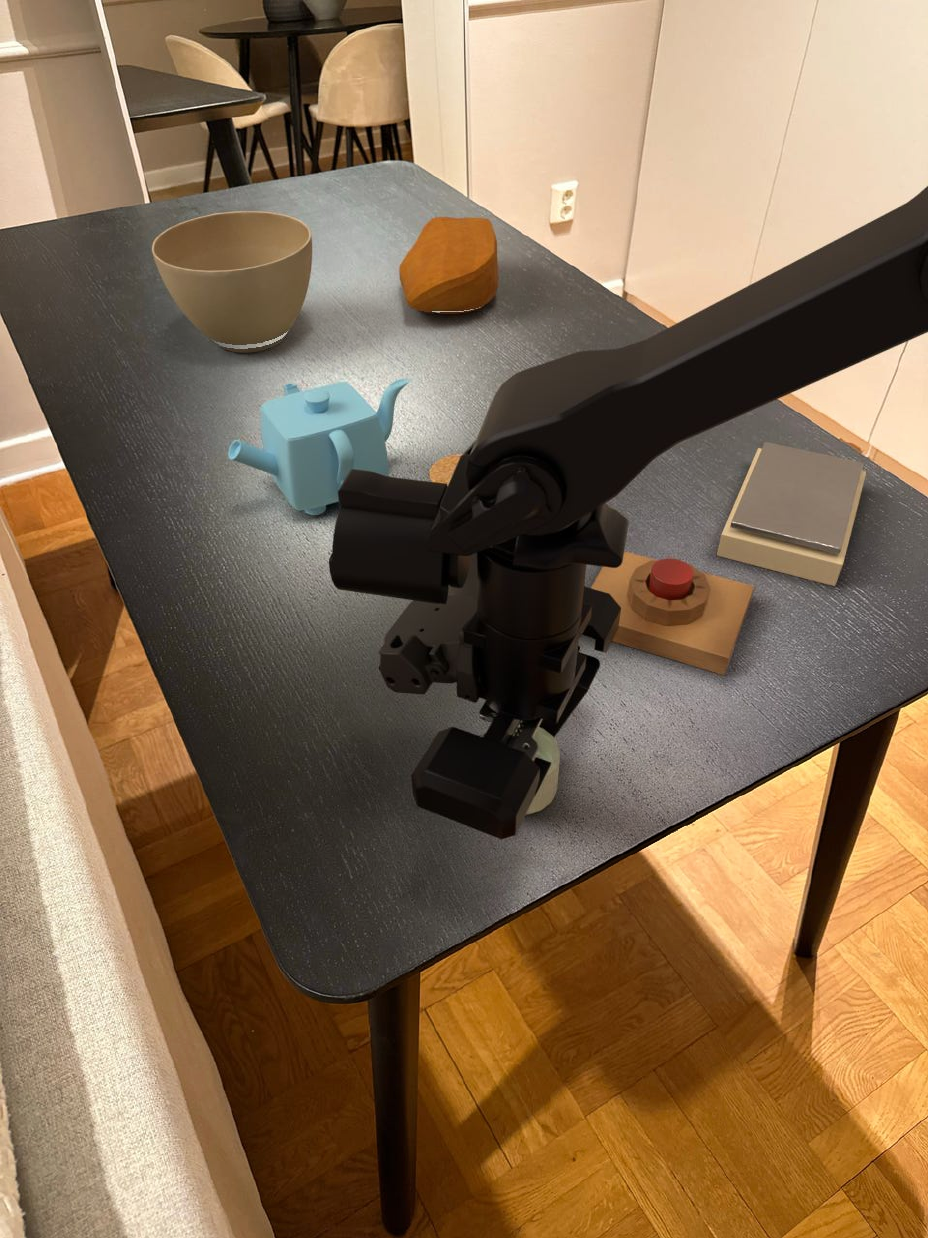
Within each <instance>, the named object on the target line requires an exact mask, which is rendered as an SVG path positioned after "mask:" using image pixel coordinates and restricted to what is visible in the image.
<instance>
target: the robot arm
mask: <svg viewBox="0 0 928 1238" xmlns="http://www.w3.org/2000/svg"><path fill="white" fill-rule="evenodd" d="M927 333H928V185H927V186H926V187H924V188H923V189H922V190H921V191H920V192H918V193H917V195H915V196H914V197H913V198H911V199H909V201H907V202H906V203H904V204H902V205H899V206H897V207H895V208H894V209H891V210H889V212H887V213H885V214H883V215H881V216H879V217H876V218H874V219H873V220H871V221H869V222H867V223H866V224H863V225H862V226H860V227H858V228H856V229H853V230H852V231H849V232H848V233H846V234H845V235H842V236H841V237H838V238H837V239H835V240H833V241H831V242H829V243H827V244H825V245H824V246H823V245H822V247H820V248H817V249H816V250H814V251H812V252H810V253H808V254H807V255H805V256H803V257H800V258H798V259H797V260H796V261H793V262H791V263H788V264H787V265H785V266H783V267H781V268H780V269H777V270H775V271H774V272H772V273H770V274H768V275H766V276H765V277H763V278H761V279H759V280H757V281H755V282H753V283H751V284H749V285H747V286H745V287H743V288H741V289H740V290H737V291H735V292H734V293H732V294H730V295H728V296H726V297H725V298H722V299H720V300H719V301H716V302H715V303H713V304H711V305H708V306H707V307H705V308H703V309H701V310H699V311H698V312H696V313H694V314H692V315H690V316H688V317H686V318H684V319H682V320H680V321H678V322H676V323H674V324H673V325H671V326H669V327H667V328H665V329H663V330H661V331H659V332H657V333H656V334H653V335H652V336H650V337H648V338H646V339H643V340H640V341H637V342H634V343H631V344H628V345H626V346H621V347H617V348H610V349H606V348H605V349H594V350H591V349H590V350H579V351H576V352H573V353H569V354H568V355H564V356H562V357H558V358H555V359H553V360H549V361H546V362H544V363H540V364H538V365H535V366H532V367H529V368H526V369H523V370H520V371H519V372H516V373H515V374H513V375H512V376H511V377H509V378H508V379H507V380H505V381H504V382H503V383H502V384H500V387H498V389H497V390H496V392H495V393H494V396H493V398H492V401H491V403H490V405H489V407H488V409H487V412H486V414H485V417H484V420H483V422H482V424H481V427H480V429H479V432H478V434H477V435H476V439H475V440H474V441H473V442H472V443H471V444H470V445H469V447H468V448H467V449H466V450H464V452H463V453H461V454H462V456H461V457H460V459H459V461H458V463H457V466H456V468H455V470H454V473H453V475H452V477H451V480H450V482H449V484H448V486H447V484H445V483H437V482H431V481H428V480H421V479H413V478H403V477H394V476H389V475H388V476H384V475H381V474H379V473H376V472H371V471H364V470H356V469H352V470H351V471H349V473H348V475H347V476H346V478H345V480H344V482H343V483H342V485H341V487H340V488H339V490H338V498H339V502H338V504H339V509H338V511H337V515H336V519H335V524H334V531H333V538H332V551H331V554H330V557H329V559H328V568H329V575H330V578H331V582H332V583H333V586H334V587H335V588H336V589H337V590H340V591H345V592H353V593H359V594H367V595H372V596H373V595H374V596H381V597H387V598H393V599H394V598H395V599H401V600H409V601H411V602H410V603H409V604H408V605H407V606H406V607H405V609H404V610H403V611H402V613H401V614H400V616H398V618H397V619H396V620H395V622H394V623H393V624H392V626H391V627H390V628H389V630H388V631H387V632H386V634H385V635H384V637H383V638H384V640H383V641H384V643H383V645H382V646H380V648H379V650H378V654H379V658H380V659H379V664H378V670H379V672H380V674H381V677H382V679H383V681H384V683H385V685H386V687H387V688H388V689H389V690H391V691H392V692H394V693H397V694H398V693H399V694H409V695H410V694H412V695H425V694H426V693H428V691H429V689H430V688H431V686H432V685H433V683H437V684H454V683H455V684H456V697H457V698H460V699H463V700H466V701H468V702H472V703H478V702H479V699H482V700H485V701H484V703H483V705H482V706H481V707H480V709H479V711H478V717H479V719H481V720H482V721H484V722H485V721H486V722H488V723H491V724H490V725H489V727H488V728H487V730H486V732H485V733H484V734H478V735H477V734H474V733H472V732H469V731H466V730H463V729H461V728H458V727H456V726H451V727H448V728H445V729H442V730H439V731H438V732H437V734H436V735H435V737H434V738H433V739H432V742H431V744H429V746H428V748H427V750H426V751H425V752H424V754H423V755H422V757H421V759H420V761H419V762H418V764H417V765H416V767H415V768H414V770H413V772H412V773H411V775H410V778H411V787H412V788H411V789H412V790H411V791H412V797H413V800H414V803H415V804H416V806H417V807H418V808H421V809H423V810H426V811H428V812H430V813H434V814H436V815H439V816H441V817H443V818H446V819H447V820H450V821H453V822H456V823H459V824H460V825H464V826H466V827H470V828H471V829H474V830H476V831H479V832H481V833H484V834H486V835H488V836H492V837H494V838H497V839H499V840H504V839H508V838H511V837H514V836H516V835H517V833H518V830H519V829H520V827H521V824H522V823H523V821H524V819H525V817H526V816H527V815H526V813H527V811H528V809H529V807H530V805H531V803H532V801H533V798H534V797H535V796H536V794H537V792H538V790H539V788H540V786H541V784H542V782H543V780H544V778H545V776H546V774H547V772H548V770H549V768H550V766H551V762H549V761H546V760H543V759H540V758H537V757H536V756H537V754H538V750H539V747H538V743H537V742H536V741H535V740H534V739H533V737H534V735H535V733H536V731H537V729H538V727H540V728H543V729H544V730H546V731H547V732H548V733H549V734H551V735H552V736H553V737H554V738H556V736H557V735H558V733H559V732H560V731H561V730H562V728H563V726H564V725H565V724H566V722H567V721H568V719H569V718H570V716H571V715H572V714H573V712H574V711H575V710H576V708H577V707H578V706H579V704H580V703H581V702H582V700H583V699H584V697H585V696H586V695H587V693H588V692H589V690H590V687H591V685H592V684H593V682H594V680H595V677H596V676H597V674H598V672H599V670H600V667H601V661H600V659H598V658H597V657H595V656H593V655H589V654H586V653H583V652H581V646H580V645H579V641H580V639H581V637H582V636H583V637H587V638H590V639H594V640H595V643H594V651H597V652H600V653H604V654H607V651H609V648H610V646H611V644H612V642H613V641H612V640H613V638H614V636H615V634H616V632H617V630H618V628H619V621H620V614H621V607H620V606H619V605H618V603H617V602H616V601H615V600H614V599H613V597H612V596H611V595H610V594H609V593H605V592H602V591H598V590H595V589H591V587H587V586H585V583H586V574H587V573H586V572H587V565H590V566H596V567H610V568H617V567H619V566H620V565H621V564H622V562H623V555H624V551H625V548H626V542H627V536H628V529H629V525H630V524H629V519H628V518H627V517H625V516H624V515H623V514H621V513H620V512H619V511H618V510H617V509H615V508H613V507H610V505H608V504H607V503H608V502H610V501H611V500H613V499H614V498H616V497H617V496H618V495H619V494H620V493H621V492H622V491H623V490H624V489H625V488H626V487H627V486H628V485H629V484H630V483H632V481H633V480H635V479H636V478H637V477H638V475H640V473H642V472H643V471H644V469H646V468H647V467H648V466H649V465H650V464H651V463H652V462H653V461H654V460H655V459H656V458H658V457H659V456H661V455H662V454H664V453H665V452H667V451H668V450H670V449H672V448H673V447H675V446H676V445H678V444H680V443H682V442H684V441H687V440H689V439H691V438H693V437H695V436H698V435H700V434H703V433H704V432H707V431H709V430H712V429H713V428H716V427H719V426H721V425H723V424H725V423H727V422H729V421H732V420H734V419H736V418H739V417H740V416H742V415H745V414H747V413H750V412H752V411H754V410H756V409H758V408H760V407H763V406H765V405H767V404H769V403H772V402H774V401H776V400H779V399H782V398H783V397H785V396H788V395H790V394H792V393H794V392H796V391H799V390H801V389H804V388H805V387H808V386H810V385H813V384H814V383H818V382H819V381H821V380H823V379H824V380H825V379H826V378H828V377H830V376H832V375H833V376H834V375H835V374H837V373H839V372H841V371H844V370H846V369H848V368H852V366H855V365H857V364H859V363H861V362H864V361H866V360H869V359H870V358H871V359H872V358H873V357H875V356H878V355H880V354H882V353H884V352H887V351H889V350H891V349H893V348H896V347H898V346H900V345H903V344H905V343H906V342H909V341H912V340H914V339H916V338H918V337H920V336H923V335H924V334H927ZM475 553H477V599H475V598H473V597H472V596H448V591H449V587H448V586H449V585H450V586H451V587H455V588H462V587H463V586H464V584H465V581H466V578H467V575H468V571H469V567H470V561H471V555H473V554H475ZM519 724H520V727H518V726H519ZM516 730H517V732H515V731H516ZM513 735H514V736H513Z"/></svg>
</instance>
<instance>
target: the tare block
mask: <svg viewBox="0 0 928 1238" xmlns="http://www.w3.org/2000/svg"><path fill="white" fill-rule="evenodd" d="M659 560H660V559H656V558H655V559H654V558H651V557H648V556H643V555H639V554H635V553H632V552H630V551H629V552H628V551H625V550H624V555H623V562H622V564H621V565H620V566H619V567H617V568H610V567H603V566H601V569H600V571H599V573H598V575H597V576H596V577H595V580H594V582H593V584H592V585H591V587H590V588H591V589H595V590H598V591H602V592H605V593H609V594H610V595H611V596H612V597H613V599H614V600H615V601H616V602H617V603H618V605H619V606H620V607H621V614H620V621H619V628H618V630H617V632H616V634H615V636H614V638H613V640H612V642H613V643H616V644H619V645H622V646H626V647H630V648H632V649H636V650H640V651H643V652H646V653H650V654H653V655H656V656H659V657H662V658H665V659H669V660H673V661H675V662H679V663H682V664H686V665H689V666H692V667H695V668H699V669H701V670H705V671H709V672H712V673H716V674H719V675H722V676H725V675H726V673H727V670H728V668H729V664H730V661H731V659H732V657H733V653H734V651H735V648H736V644H737V642H738V639H739V636H740V633H741V630H742V628H743V625H744V622H745V620H746V616H747V613H748V611H749V608H750V605H751V601H752V598H753V594H754V591H755V588H756V587H755V585H752V584H748V583H744V582H740V581H736V580H733V579H729V578H727V577H726V578H725V577H722V576H719V575H716V574H715V575H714V574H711V573H707V572H703V571H700V570H698V569H697V568H696V567H694V566H693V565H692V564H689V563H687V564H688V565H689V566H690V567H691V568H692V570H693V579H692V584H691V589H690V593H689V594H688V596H687V597H685V598H684V599H682V600H666V599H663V598H659V597H656V596H655V595H654V594H652V592H651V591H650V589H649V581H650V575H651V569H652V566H653V565H654V563H655V562H657V561H659Z"/></svg>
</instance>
